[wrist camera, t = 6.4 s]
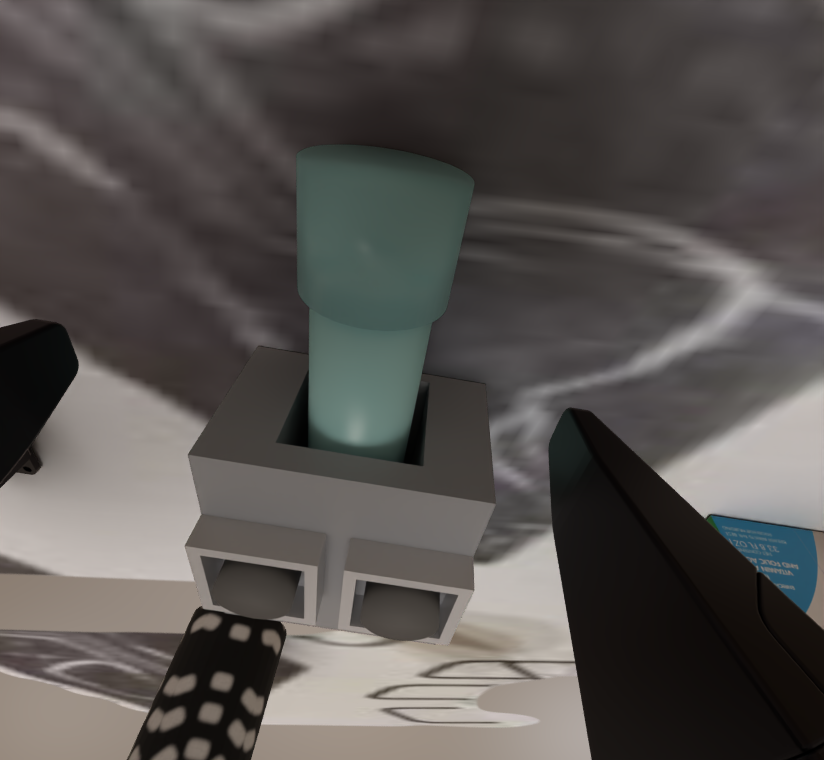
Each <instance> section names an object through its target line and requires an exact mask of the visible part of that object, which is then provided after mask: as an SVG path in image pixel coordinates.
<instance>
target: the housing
mask: <svg viewBox="0 0 824 760" xmlns="http://www.w3.org/2000/svg"><path fill="white" fill-rule="evenodd" d="M308 398H309V355H308V354H303V353H297V352H291V351H285V350H279V349H273V348H267V347H261V346H258V347H257V348H256V350H255V352H254V353H253V355H252V356H251V358H250V359H249V361H248V362H247V364H246V365H245V367H244V369H243V370H242V372H241V373H240V375H239V376H238V378H237V379H236V381H235V382H234V384H233V386H232V387H231V389H230V390H229V392H228V393H227V395H226V396H225V398H224V399H223V401H222V403H221V404H220V406H219V407H218V409H217V410H216V412H215V413H214V415H213V416H212V418H211V420H210V421H209V423H208V424H207V426H206V427H205V429H204V430H203V432H202V433H201V435H200V437H199V438H198V440H197V441H196V443H195V444H194V446H193V447H192V449H191V450H190V452H189V454H188V458H189V462H190V467H191V471H192V475H193V480H194V484H195V488H196V492H197V497H198V501H199V505H200V510H201V514H202V515H201V516H200V518H199V520H198V522H197V524H196V526H195V528H194V529H193V531H192V533H191V535H190V537H189V539H188V541H187V543H186V544H185V549H186V552H187V556H188V559H189V563H190V566H191V570H192V573H193V576H194V580H195V583H196V587H197V590H198V593H199V597H200V600H201V604H202V607H203V609H208V610H215V611H221V612H224V613H227V614H234V615H238V614H235V613H233V612H231V611H229V610H227V609H225V608H223V607H222V606H221V605H219V604H218V603H217V602H216V601H215V600H214V598H213V596H212V588H213V586H214V584H215V581H216V579H217V577H218V575H219V572H220V570H221V568H222V566H223V563H224V561H225V559H227V560H233V561H240V562H246V563H253V564H260V565H266V566H273V567H279V568H286V569H292V570H299V571H302V573H301V577H300V580H299V584H298V587H297V590H296V594H295V597H294V601H293V604H292V608H291V610H290V612H289V613H288V614H287V615H285V616H283V617H281V618H277V619H267V620H274V621H281V622H288V623H294V624H301V625H307V626H315V627H321V628H328V629H334V630H341V631H348V632H354V633H361V634H368V635H374V636H378V635H376V634H374V633H372V632H370V631H369V630H367V629H366V628H365V627H364V626H363V625H362V623H361V620H360V616H361V610H362V604H363V598H364V592H365V586H366V581H370V582H377V583H383V584H390V585H396V586H403V587H409V588H416V589H422V590H429V591H435V592H440V613H439V629H438V631H437V632H436V633H435V634H433V635H432V636H430V637H427V638H424V639H420V640H413V641H414V642H421V643H428V644H434V645H435V644H441V645H449V643H450V641H451V639H452V637H453V635H454V632H455V630H456V628H457V626H458V624H459V622H460V620H461V618H462V616H463V613H464V611H465V609H466V607H467V605H468V603H469V601H470V599H471V597H472V595H473V592H474V566H473V556H474V554H475V551H476V549H477V547H478V544H479V542H480V540H481V537H482V535H483V533H484V531H485V528H486V526H487V524H488V521H489V519H490V517H491V514H492V512H493V510H494V507H495V505H496V499H495V488H494V476H493V465H492V453H491V442H490V431H489V419H488V408H487V396H486V385H485V384H481V383H475V382H469V381H463V380H457V379H451V378H446V377H440V376H434V375H428V374H422V375H421V380H420V385H419V390H418V394H417V399H416V404H415V409H414V414H413V419H412V424H411V429H410V433H409V438H408V443H407V448H406V453H405V458H404V463H399V462H392V461H386V460H380V459H374V458H368V457H361V456H355V455H349V454H343V453H337V452H331V451H324V450H318V449H312V448H308Z"/></svg>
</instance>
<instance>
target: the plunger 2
mask: <svg viewBox="0 0 824 760" xmlns="http://www.w3.org/2000/svg"><path fill="white" fill-rule="evenodd" d="M439 613H440V592H435V591H429V590H422V589H416V588H409V587H403V586H396V585H390V584H383V583H377V582H370V581H366V586H365V592H364V598H363V604H362V610H361V616H360V620H361V623H362V625H363V626H364V627H365V628H366V629H367V630H369V631H370V632H372V633H374V634H376V635H378V636H381V637H384V638H388V639H393V640H401V641H413V640H420V639H424V638H427V637H430V636H432V635H433V634H435V633H436V632H437V631H438V629H439Z"/></svg>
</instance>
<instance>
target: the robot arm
mask: <svg viewBox="0 0 824 760" xmlns="http://www.w3.org/2000/svg"><path fill="white" fill-rule="evenodd" d="M78 367H79V363H78V359H77V356H76V354H75V351H74V348H73V346H72V343H71V340H70V338H69V335H68V333H67V330H66V329H65V328H64V327H63V326H62V325H61V324H59V323H57V322H51V321H45V320H38V319H33V320H28V321H24V322H20V323H16V324H12V325H8V326H4V327H1V328H0V488H1V487H2V486H3V485H4V484H5V483H6V482H7V481H8V480H9V479H10V478H11V477H12V476H13V475H14V474H15V473H16V472H18V473H24V474H31V475H34V474H36V473H37V472H38V471H39V470H40V468H41V466H40V464H39V462H38V460H37V458H36V456H35V454H34V453H33V451H32V449H31V447H30V446H31V444H32V443H33V441H34V440H35V438H36V437H37V436H38V434H39V433H40V431H41V429H42V428H43V426H44V425H45V423H46V422H47V420H48V418H49V417H50V415H51V414H52V412H53V411H54V409H55V408H56V406H57V404H58V403H59V401H60V400H61V398H62V397H63V395H64V393H65V392H66V390H67V389H68V387H69V386H70V384H71V382H72V381H73V379H74V378H75V376H76V374H77V372H78ZM549 472H550V493H551V513H552V526H553V533H554V540H555V546H556V552H557V558H558V563H559V569H560V575H561V581H562V587H563V593H564V599H565V605H566V611H567V617H568V623H569V628H570V634H571V640H572V646H573V652H574V658H575V664H576V670H577V676H578V682H579V688H580V693H581V699H582V705H583V711H584V717H585V723H586V728H587V735H588V741H589V746H590V752H591V758H592V760H824V629H823V628H822V627H820V626H819V625H818V624H817V623H816V622H815V621H814V620H813V619H812V618H811V617H810V616H808V615H807V614H806V613H805V612H804V611H803V610H802V609H801V608H800V607H799V606H797V605H796V604H795V603H794V602H793V601H792V600H791V599H790V598H789V597H788V596H787V595H785V594H784V593H783V592H782V591H781V590H780V589H779V588H778V587H777V586H776V585H775V584H774V583H773V582H772V581H771V580H770V579H769V578H768V577H766V576H765V575H764V574H763V573H762V572H757V568H756V566H755V565H754V564H752V563H751V562H750V561H749V560H748V559H747V558H746V557H745V556H744V555H743V554H742V553H741V552H740V551H739V550H738V549H737V548H735V547H734V546H733V545H732V544H731V543H730V542H729V541H728V540H727V539H726V538H725V537H724V536H723V535H722V534H721V533H720V532H718V531H717V530H716V529H715V528H714V527H713V526H712V525H711V524H710V523H709V522H708V521H707V520H706V519H705V518H704V517H703V516H701V515H700V514H699V513H698V512H697V511H696V510H695V509H694V508H693V507H692V506H691V505H690V504H689V503H688V502H687V501H686V500H684V499H683V498H682V497H681V496H680V495H679V494H678V493H677V492H676V491H675V490H674V489H673V488H672V487H671V486H670V485H669V484H668V483H666V482H665V481H664V480H663V479H662V478H661V477H660V476H659V475H658V474H657V473H656V472H655V471H654V470H653V469H652V468H651V467H649V466H648V465H647V464H646V463H645V462H644V461H643V460H642V459H641V458H640V457H639V456H638V455H637V454H636V453H635V452H634V451H632V450H631V449H630V448H629V447H628V446H627V445H626V444H625V443H624V442H623V441H622V440H621V439H620V438H619V437H618V436H617V435H615V434H614V433H613V432H612V431H611V430H610V429H609V428H608V427H607V426H606V425H605V424H604V423H603V422H602V421H601V420H600V419H598V418H597V417H596V416H595V415H594V414H593V413H592V412H590V411H588V410H583V409H577V408H568V409H566V410H565V411H564V412H563V414H562V416H561V418H560V420H559V422H558V424H557V427H556V429H555V431H554V433H553V435H552V437H551V439H550V443H549Z"/></svg>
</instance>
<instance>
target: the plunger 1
mask: <svg viewBox="0 0 824 760" xmlns="http://www.w3.org/2000/svg"><path fill="white" fill-rule="evenodd" d="M301 573H302V571H299V570H292V569H286V568H279V567H273V566H266V565H260V564H253V563H246V562H240V561H233V560H227V559H225V561H224V563H223V566H222V568H221V570H220V572H219V575H218V577H217V579H216V581H215V584H214V586H213V588H212V596H213V598H214V600H215V601H216V602H217V603H218V604H219V605H221V606H222V607H223V608H225V609H227V610H229V611H231V612H233V613H235V614H238V615H241V616H245V617H249V618H254V619H277V618H281V617H283V616H285V615H287V614H288V613H289V612H290V610H291V608H292V604H293V601H294V597H295V594H296V590H297V587H298V584H299V580H300V577H301Z"/></svg>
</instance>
